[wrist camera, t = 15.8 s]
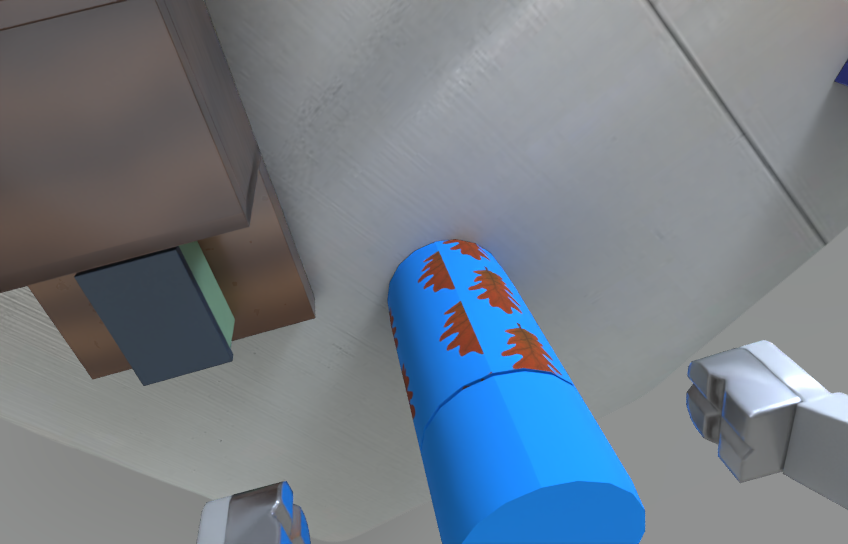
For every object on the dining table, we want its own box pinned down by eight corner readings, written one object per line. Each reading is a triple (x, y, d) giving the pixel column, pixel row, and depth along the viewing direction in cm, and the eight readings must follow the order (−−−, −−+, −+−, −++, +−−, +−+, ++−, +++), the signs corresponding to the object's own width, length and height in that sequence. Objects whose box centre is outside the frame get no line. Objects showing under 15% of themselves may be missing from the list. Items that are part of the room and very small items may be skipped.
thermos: (467, 354, 55) (572, 619, 34) (365, 322, 51) (412, 601, 30) (527, 261, 51) (689, 498, 30) (421, 219, 47) (523, 458, 26)
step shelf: (-115, 26, 34) (-388, 91, 20) (186, -46, 35) (116, -29, 21) (103, 355, 48) (26, 524, 34) (314, 298, 49) (321, 439, 35)
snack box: (97, 240, 40) (73, 277, 35) (188, 215, 40) (175, 249, 36) (158, 343, 45) (143, 386, 40) (238, 320, 45) (232, 361, 41)
